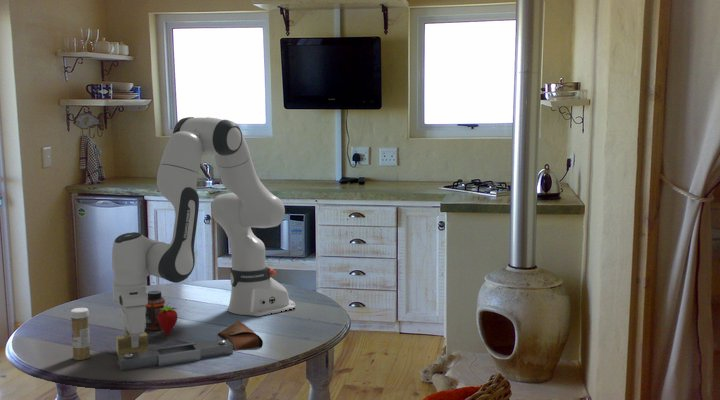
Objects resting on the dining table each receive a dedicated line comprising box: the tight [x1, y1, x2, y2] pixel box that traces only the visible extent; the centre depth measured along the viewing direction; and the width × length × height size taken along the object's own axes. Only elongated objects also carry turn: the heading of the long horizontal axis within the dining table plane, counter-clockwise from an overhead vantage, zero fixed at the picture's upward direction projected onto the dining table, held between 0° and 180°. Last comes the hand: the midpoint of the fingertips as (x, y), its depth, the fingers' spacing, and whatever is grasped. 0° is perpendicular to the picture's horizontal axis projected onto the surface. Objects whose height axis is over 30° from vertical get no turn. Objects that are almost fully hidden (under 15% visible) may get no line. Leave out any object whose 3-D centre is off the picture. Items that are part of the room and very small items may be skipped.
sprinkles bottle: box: [69, 307, 91, 361], centre depth 194 cm, size 5×5×13 cm
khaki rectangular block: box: [115, 331, 150, 356], centre depth 198 cm, size 8×3×5 cm, turn 116°
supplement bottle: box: [145, 290, 166, 331], centre depth 220 cm, size 6×6×11 cm
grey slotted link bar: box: [117, 339, 234, 371], centre depth 194 cm, size 30×7×3 cm, turn 116°
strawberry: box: [157, 302, 178, 335], centre depth 214 cm, size 6×8×10 cm
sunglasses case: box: [216, 319, 264, 352], centre depth 210 cm, size 18×7×7 cm, turn 30°
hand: (131, 341), depth 198 cm, fingers open, 8 cm apart
